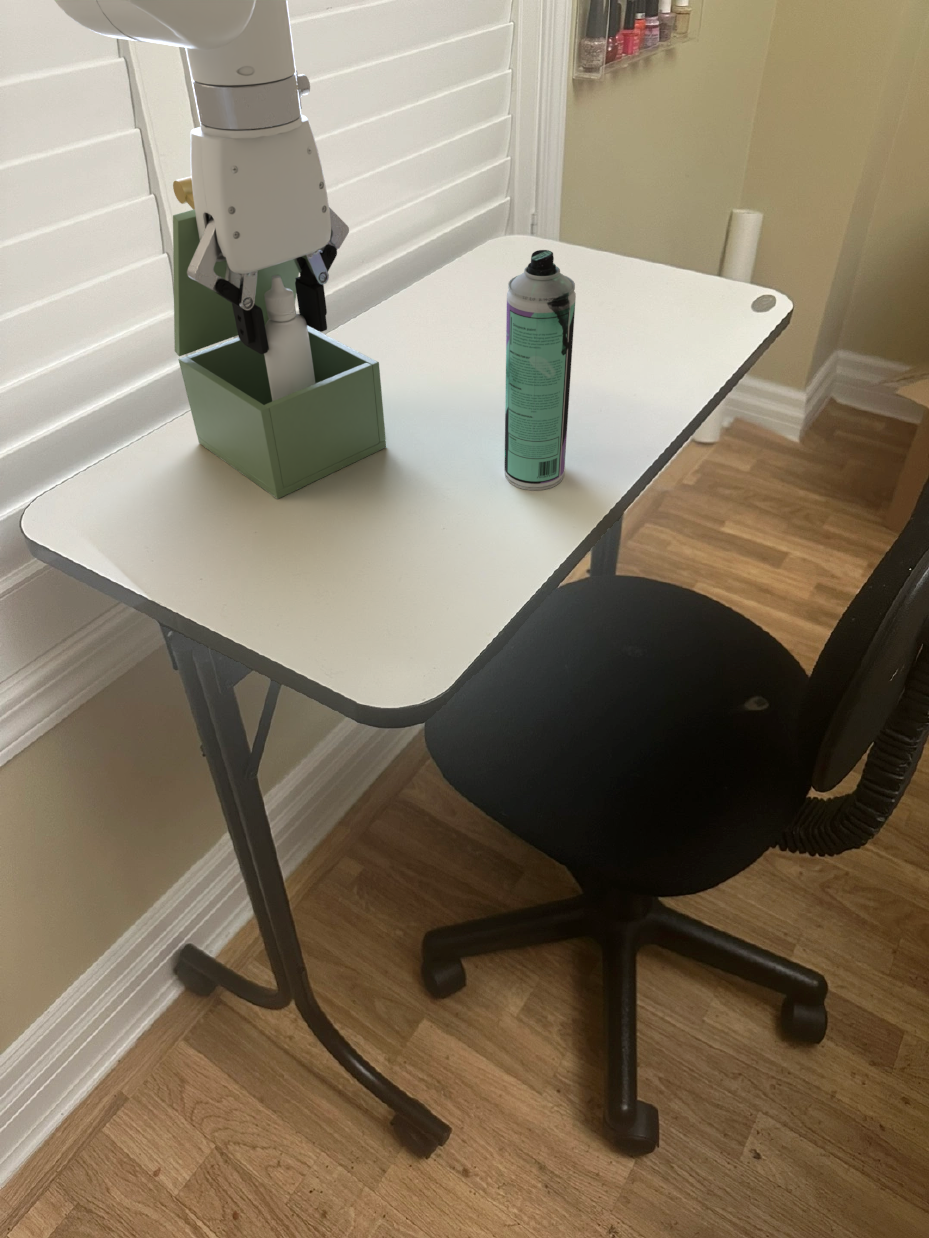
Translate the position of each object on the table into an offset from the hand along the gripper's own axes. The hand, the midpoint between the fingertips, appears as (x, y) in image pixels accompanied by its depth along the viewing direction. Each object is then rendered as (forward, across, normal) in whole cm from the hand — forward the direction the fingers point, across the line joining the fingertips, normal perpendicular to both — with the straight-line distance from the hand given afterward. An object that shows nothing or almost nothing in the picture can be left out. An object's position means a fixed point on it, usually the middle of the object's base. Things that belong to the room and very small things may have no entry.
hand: (285, 335), depth 79 cm
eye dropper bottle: (+7, 0, 0) cm, 7 cm away
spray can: (+12, -13, +18) cm, 25 cm away
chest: (+12, 0, -2) cm, 12 cm away
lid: (-4, 0, -6) cm, 7 cm away
